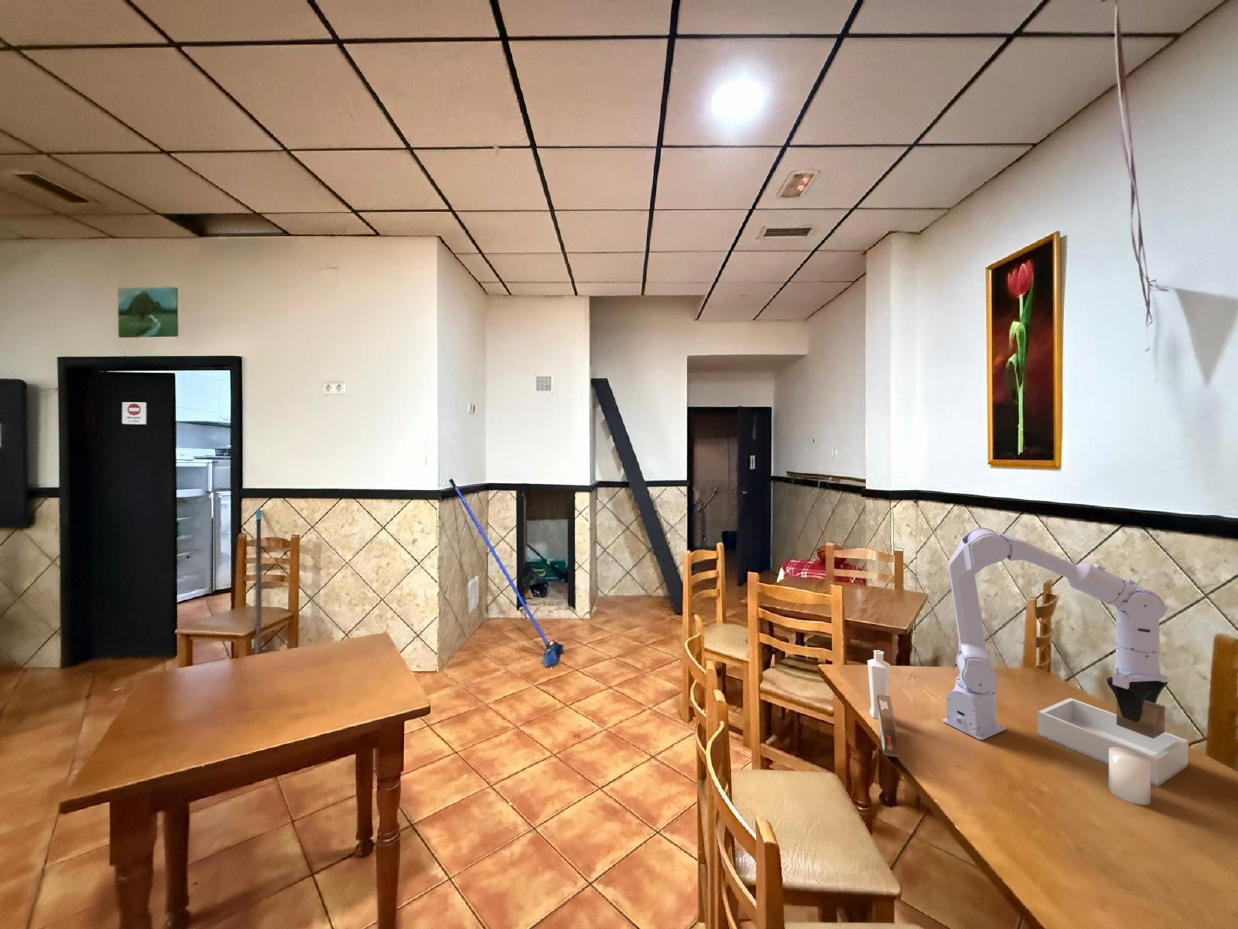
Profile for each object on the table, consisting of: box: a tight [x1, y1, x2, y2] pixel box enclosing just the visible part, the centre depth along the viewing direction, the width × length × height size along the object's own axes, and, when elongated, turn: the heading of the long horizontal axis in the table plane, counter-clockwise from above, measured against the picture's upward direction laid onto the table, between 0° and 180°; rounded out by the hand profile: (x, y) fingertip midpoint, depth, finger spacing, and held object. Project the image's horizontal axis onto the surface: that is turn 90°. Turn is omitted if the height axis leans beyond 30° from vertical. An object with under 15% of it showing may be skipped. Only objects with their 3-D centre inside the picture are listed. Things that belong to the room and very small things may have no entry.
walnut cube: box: [1116, 700, 1166, 739], centre depth 90 cm, size 5×5×5 cm
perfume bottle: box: [867, 649, 891, 720], centre depth 108 cm, size 5×4×15 cm
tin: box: [877, 695, 900, 759], centre depth 97 cm, size 15×3×8 cm, turn 155°
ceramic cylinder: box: [1108, 747, 1152, 806], centre depth 82 cm, size 5×5×7 cm
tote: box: [1037, 697, 1189, 788], centre depth 95 cm, size 14×18×5 cm
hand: (1136, 715), depth 91 cm, fingers closed on walnut cube, 5 cm apart
